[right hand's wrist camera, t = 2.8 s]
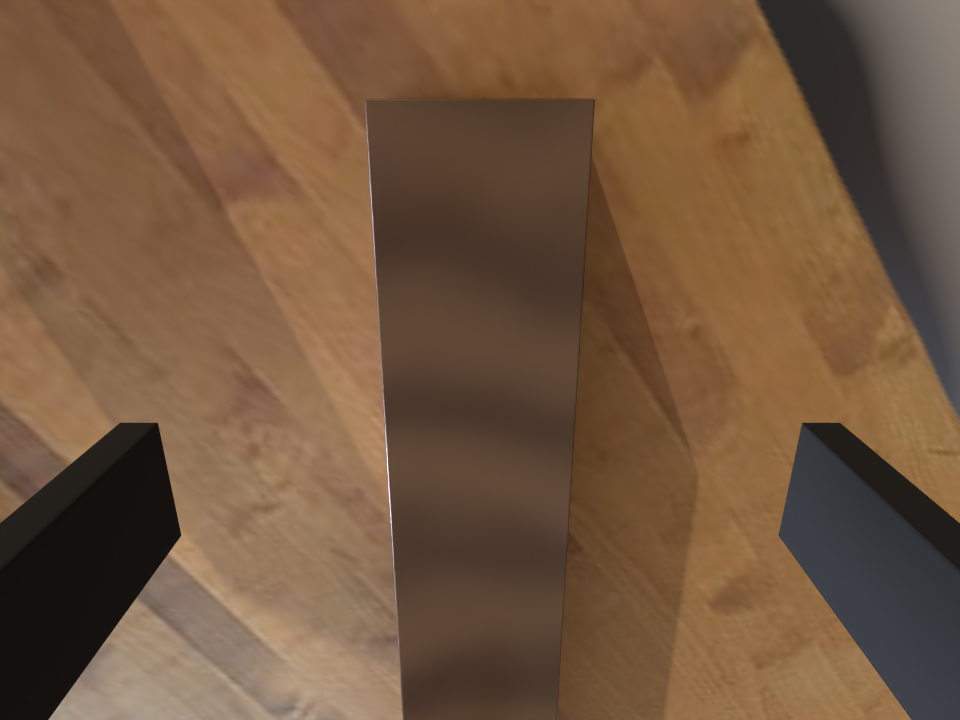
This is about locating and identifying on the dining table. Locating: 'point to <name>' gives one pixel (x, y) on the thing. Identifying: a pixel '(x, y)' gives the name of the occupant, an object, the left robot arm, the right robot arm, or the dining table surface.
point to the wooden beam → (479, 388)
